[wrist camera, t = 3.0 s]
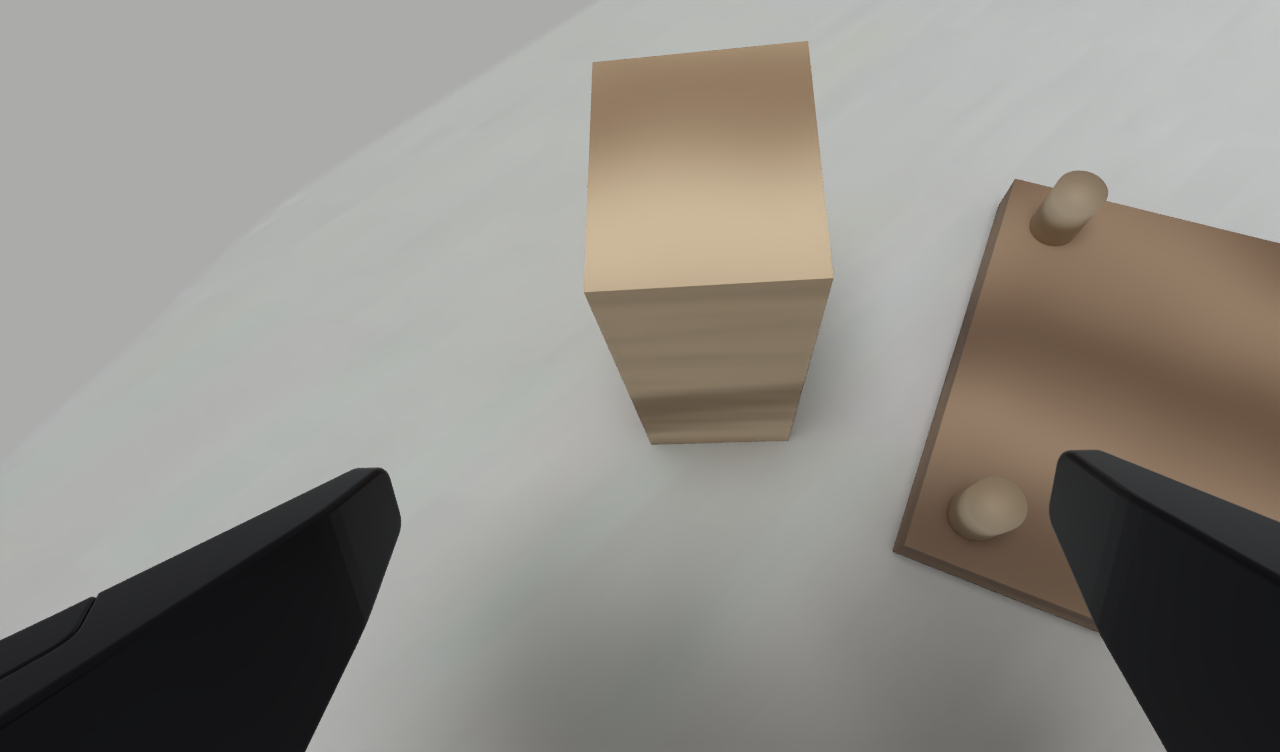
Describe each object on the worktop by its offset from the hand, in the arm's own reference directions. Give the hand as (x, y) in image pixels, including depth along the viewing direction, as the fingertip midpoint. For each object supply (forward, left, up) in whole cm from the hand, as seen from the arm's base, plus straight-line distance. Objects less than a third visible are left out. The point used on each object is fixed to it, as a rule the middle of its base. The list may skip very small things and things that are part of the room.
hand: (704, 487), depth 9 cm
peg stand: (-5, -13, -13) cm, 19 cm away
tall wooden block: (+5, -4, -13) cm, 15 cm away
